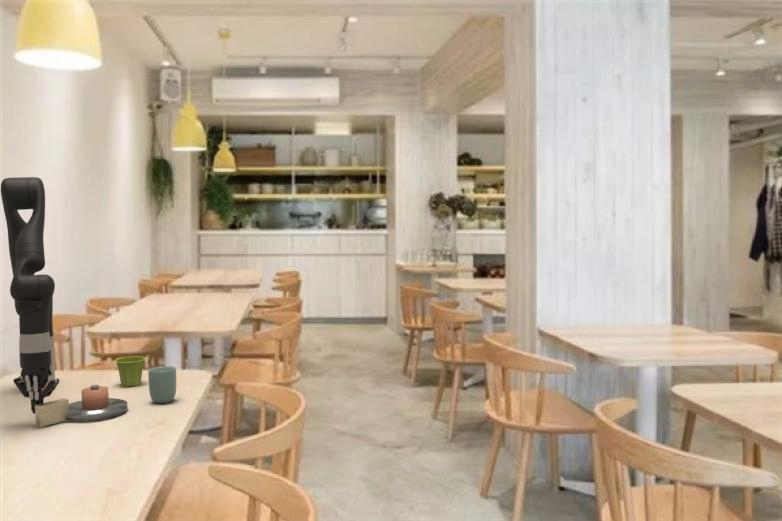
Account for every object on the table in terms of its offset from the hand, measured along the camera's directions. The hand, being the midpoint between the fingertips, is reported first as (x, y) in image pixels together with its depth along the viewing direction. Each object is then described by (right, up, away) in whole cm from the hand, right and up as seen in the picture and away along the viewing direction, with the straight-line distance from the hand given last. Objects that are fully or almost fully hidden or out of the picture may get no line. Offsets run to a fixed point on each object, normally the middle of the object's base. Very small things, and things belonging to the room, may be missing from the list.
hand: (37, 412), depth 189 cm
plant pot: (+9, -1, +44) cm, 45 cm away
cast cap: (+12, 0, +9) cm, 15 cm away
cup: (+27, -2, +22) cm, 35 cm away
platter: (+9, -2, +7) cm, 11 cm away
